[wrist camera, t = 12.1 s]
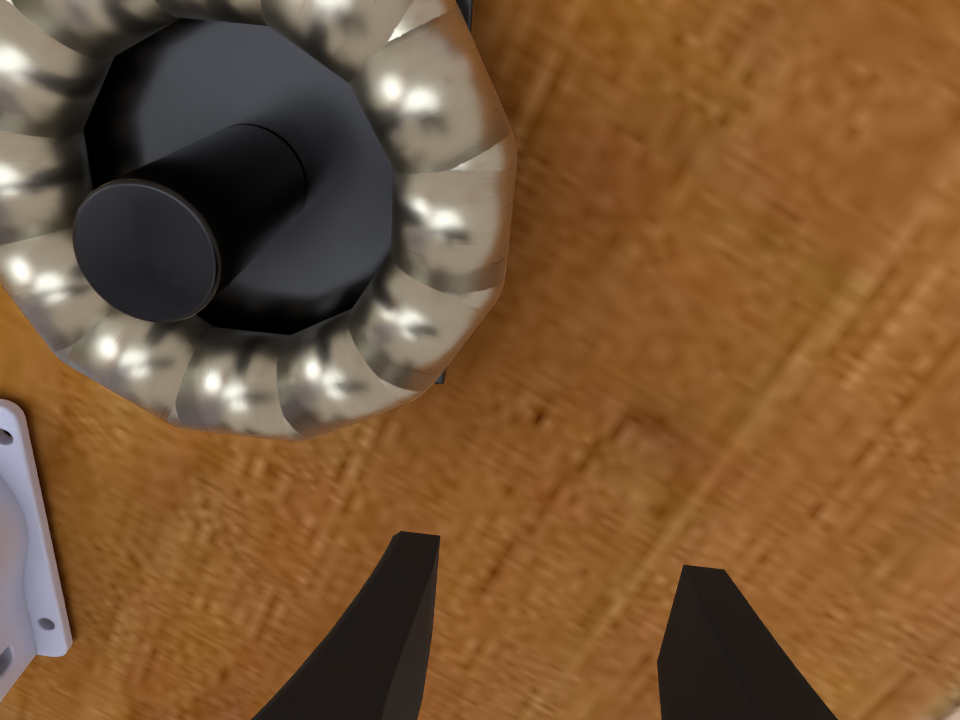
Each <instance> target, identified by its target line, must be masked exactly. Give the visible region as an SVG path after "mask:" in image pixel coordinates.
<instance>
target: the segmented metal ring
mask: <svg viewBox="0 0 960 720" xmlns="http://www.w3.org/2000/svg"><path fill="white" fill-rule="evenodd" d="M180 18H189V19H200V20H210V21H221V22H231V23H241V24H252V25H262V26H269V27H271V28H272V29H274V30H275V31H276V32H278V33H279V34H281V35H282V36H283V37H285V38H286V39H288V40H289V41H290V42H292V43H293V44H295V45H296V46H297V47H299V48H300V49H302V50H303V51H304V52H306V53H307V54H309V55H310V56H311V57H313V58H314V59H316V60H317V61H318V62H320V63H321V64H323V65H324V66H325V67H327V68H328V69H330V70H331V71H332V72H334V73H335V74H337V75H338V76H339V77H341V78H342V79H344V80H345V81H346V82H348V83H349V84H350V86H351V88H352V90H353V91H354V93H355V95H356V97H357V99H358V101H359V103H360V105H361V107H362V109H363V111H364V113H365V115H366V117H367V119H368V121H369V123H370V125H371V127H372V129H373V131H374V133H375V135H376V137H377V139H378V141H379V142H380V144H381V146H382V148H383V150H384V152H385V154H386V156H387V158H388V160H389V162H390V164H391V166H392V168H393V198H392V229H391V252H390V253H389V255H388V256H387V258H386V259H385V261H384V262H383V264H382V265H381V267H380V268H379V270H378V271H377V273H376V274H375V276H374V277H373V279H372V280H371V282H370V283H369V285H368V286H367V288H366V289H365V290H364V292H363V293H362V295H361V296H360V298H359V299H358V301H357V302H356V304H355V305H354V307H353V308H352V309H350V310H348V311H346V312H343V313H341V314H339V315H336V316H334V317H332V318H329V319H327V320H325V321H322V322H320V323H318V324H315V325H313V326H311V327H308V328H306V329H304V330H301V331H299V332H297V333H294V334H292V335H283V334H273V333H264V332H255V331H245V330H236V329H227V328H218V327H215V326H213V325H212V324H210V323H208V322H207V321H205V320H204V319H202V318H200V317H199V316H197V315H193V316H191V317H189V318H187V319H184V320H180V321H176V322H166V323H158V322H149V321H144V320H140V319H137V318H134V317H131V316H129V315H126V314H125V313H123V312H121V311H119V310H117V309H116V308H114V307H113V306H111V305H110V304H108V303H107V302H106V301H105V300H104V299H103V298H101V297H100V296H99V295H98V294H97V293H96V292H95V290H94V289H93V288H92V287H91V285H90V284H89V283H88V281H87V280H86V278H85V277H84V275H83V273H82V271H81V269H80V267H79V265H78V262H77V260H76V257H75V253H74V248H73V240H72V234H73V225H74V220H75V217H76V214H77V211H78V209H79V207H80V206H81V204H82V202H83V201H84V200H85V198H86V197H87V196H88V195H89V194H90V193H91V192H92V191H93V186H92V180H91V173H90V166H89V159H88V152H87V146H86V139H85V132H84V127H85V124H86V122H87V120H88V117H89V115H90V113H91V110H92V108H93V106H94V103H95V101H96V99H97V96H98V94H99V92H100V89H101V87H102V85H103V82H104V80H105V78H106V75H107V73H108V71H109V68H110V66H111V64H112V61H113V59H114V56H116V55H118V54H120V53H121V52H123V51H125V50H127V49H128V48H130V47H132V46H133V45H135V44H137V43H139V42H140V41H142V40H144V39H146V38H147V37H149V36H151V35H153V34H154V33H156V32H158V31H159V30H161V29H163V28H165V27H166V26H168V25H170V24H172V23H173V22H175V21H177V20H179V19H180ZM517 159H518V150H517V144H516V140H515V136H514V133H513V131H512V127H511V125H510V123H509V121H508V118H507V116H506V114H505V111H504V109H503V107H502V104H501V102H500V100H499V98H498V95H497V93H496V91H495V88H494V86H493V84H492V82H491V79H490V77H489V75H488V72H487V70H486V68H485V66H484V63H483V61H482V59H481V56H480V54H479V52H478V50H477V47H476V45H475V43H474V40H473V38H472V36H471V33H470V31H469V29H468V27H467V24H466V22H465V20H464V17H463V15H462V13H461V11H460V8H459V7H458V5H457V3H456V1H455V0H0V284H1V285H2V287H3V288H4V289H5V290H6V292H7V293H8V294H9V296H10V297H11V298H12V300H13V301H14V302H15V304H16V305H17V306H18V307H19V309H20V310H21V311H22V313H23V314H24V315H25V317H26V318H27V319H28V320H29V322H30V323H31V324H32V326H33V327H34V328H35V330H36V331H37V332H38V333H39V335H40V336H41V337H42V339H43V340H44V341H45V343H46V344H47V345H48V346H49V348H50V349H51V350H52V352H53V353H54V354H55V355H56V356H57V357H58V358H59V359H60V360H61V361H62V362H64V363H65V364H67V365H68V366H70V367H71V368H73V369H75V370H76V371H78V372H80V373H82V374H83V375H85V376H87V377H89V378H90V379H92V380H94V381H96V382H97V383H99V384H101V385H102V386H104V387H106V388H108V389H109V390H111V391H113V392H115V393H116V394H118V395H120V396H122V397H123V398H125V399H127V400H128V401H130V402H132V403H134V404H135V405H137V406H139V407H141V408H142V409H144V410H146V411H147V412H149V413H151V414H153V415H154V416H156V417H158V418H160V419H161V420H163V421H165V422H166V423H169V424H171V425H173V426H175V427H178V428H182V429H187V430H194V431H203V432H212V433H221V434H230V435H239V436H248V437H257V438H266V439H275V440H284V441H292V442H303V441H308V440H313V439H316V438H319V437H322V436H325V435H327V434H330V433H332V432H335V431H338V430H340V429H343V428H345V427H348V426H351V425H353V424H356V423H359V422H361V421H364V420H366V419H369V418H372V417H374V416H377V415H379V414H382V413H385V412H387V411H390V410H392V409H395V408H398V407H400V406H403V405H405V404H408V403H410V402H412V401H415V400H416V399H418V398H419V397H421V396H422V395H423V394H425V393H426V392H427V391H428V390H429V389H430V388H431V387H432V385H433V384H434V383H435V381H436V380H437V379H438V378H439V376H440V375H441V374H442V372H443V371H444V370H445V368H446V367H447V366H448V365H449V363H450V362H451V361H452V359H453V358H454V357H455V356H456V354H457V353H458V352H459V350H460V349H461V348H462V347H463V345H464V344H465V343H466V341H467V340H468V339H469V337H470V336H471V335H472V334H473V332H474V331H475V330H476V328H477V327H478V326H479V325H480V323H481V322H482V321H483V319H484V318H485V317H486V315H487V314H488V313H489V312H490V310H491V309H492V308H493V307H494V305H495V303H496V302H497V301H498V299H499V297H500V294H501V292H502V289H503V286H504V283H505V277H506V268H507V258H508V248H509V239H510V229H511V220H512V210H513V201H514V191H515V182H516V172H517Z"/></svg>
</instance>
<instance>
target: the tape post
mask: <svg viewBox="0 0 960 720" xmlns="http://www.w3.org/2000/svg"><path fill="white" fill-rule="evenodd" d="M455 1H456V3H457V5H458V7H459V8H460V11H461V13H462V15H463V17H464V20H465V22H466V24H467V27H468V29H469V31H470V33H471V36H472V38H473V40H474V41H475V28H476V16H477V3H478V0H455ZM84 132H85V139H86V146H87V152H88V159H89V166H90V173H91V180H92V186H93V191H92V192H91V193H90V194H89V195H88V196H87V197H86V198H85V200H84V201H83V202H82V204H81V206H80V207H79V209H78V211H77V214H76V217H75V220H74V225H73V234H72V240H73V248H74V253H75V257H76V260H77V262H78V265H79V267H80V269H81V271H82V273H83V275H84V277H85V278H86V280H87V281H88V283H89V284H90V285H91V287H92V288H93V289H94V290H95V292H96V293H97V294H98V295H99V296H100V297H101V298H103V299H104V300H105V301H106V302H107V303H108V304H110V305H111V306H113V307H114V308H116V309H117V310H119V311H121V312H123V313H125V314H126V315H129V316H131V317H134V318H137V319H140V320H144V321H149V322H158V323H166V322H176V321H180V320H184V319H187V318H189V317H191V316H193V315H197V316H199V317H200V318H202V319H204V320H205V321H207V322H208V323H210V324H212V325H213V326H215V327H218V328H227V329H236V330H245V331H255V332H264V333H273V334H283V335H292V334H294V333H297V332H299V331H301V330H304V329H306V328H308V327H311V326H313V325H315V324H318V323H320V322H322V321H325V320H327V319H329V318H332V317H334V316H336V315H339V314H341V313H343V312H346V311H348V310H350V309H352V308H353V307H354V305H355V304H356V302H357V301H358V299H359V298H360V296H361V295H362V293H363V292H364V290H365V289H366V288H367V286H368V285H369V283H370V282H371V280H372V279H373V277H374V276H375V274H376V273H377V271H378V270H379V268H380V267H381V265H382V264H383V262H384V261H385V259H386V258H387V256H388V255H389V253H390V252H391V229H392V198H393V168H392V166H391V164H390V162H389V160H388V158H387V156H386V154H385V152H384V150H383V148H382V146H381V144H380V142H379V141H378V139H377V137H376V135H375V133H374V131H373V129H372V127H371V125H370V123H369V121H368V119H367V117H366V115H365V113H364V111H363V109H362V107H361V105H360V103H359V101H358V99H357V97H356V95H355V93H354V91H353V90H352V88H351V86H350V84H349V83H348V82H346V81H345V80H344V79H342V78H341V77H339V76H338V75H337V74H335V73H334V72H332V71H331V70H330V69H328V68H327V67H325V66H324V65H323V64H321V63H320V62H318V61H317V60H316V59H314V58H313V57H311V56H310V55H309V54H307V53H306V52H304V51H303V50H302V49H300V48H299V47H297V46H296V45H295V44H293V43H292V42H290V41H289V40H288V39H286V38H285V37H283V36H282V35H281V34H279V33H278V32H276V31H275V30H274V29H272V28H271V27H269V26H262V25H252V24H241V23H231V22H221V21H210V20H200V19H189V18H180V19H179V20H177V21H175V22H173V23H172V24H170V25H168V26H166V27H165V28H163V29H161V30H159V31H158V32H156V33H154V34H153V35H151V36H149V37H147V38H146V39H144V40H142V41H140V42H139V43H137V44H135V45H133V46H132V47H130V48H128V49H127V50H125V51H123V52H121V53H120V54H118V55H116V56H114V59H113V61H112V64H111V66H110V68H109V71H108V73H107V75H106V78H105V80H104V82H103V85H102V87H101V89H100V92H99V94H98V96H97V99H96V101H95V103H94V106H93V108H92V110H91V113H90V115H89V117H88V120H87V122H86V124H85V127H84ZM447 368H448V366H447V367H446V368H445V370H444V371H443V372H442V374H441V375H440V376H439V378H438V379H437V380H436V381H435V383H434V384H443V383H444V381H445V376H446V372H447Z"/></svg>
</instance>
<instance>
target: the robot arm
mask: <svg viewBox="0 0 960 720" xmlns="http://www.w3.org/2000/svg"><path fill="white" fill-rule="evenodd" d="M4 430H6V431H8V432H9V433H10V434H11V436H12V437H11V436H9V435H7V434H6V433H5V431H4ZM439 546H440V536H438V535H429V534H421V533H413V532H404V531H400V532H399V533H397V534H396V535H394V536H393V538H392V540H391V542H390V544H389V546H388V547H387V549H386V551H385V553H384V554H383V556H382V558H381V560H380V561H379V563H378V565H377V566H376V568H375V569H374V571H373V572H372V574H371V576H370V577H369V578H368V580H367V581H366V583H365V584H364V586H363V587H362V589H361V590H360V592H359V593H358V595H357V596H356V597H355V599H354V600H353V601H352V603H351V604H350V605H349V607H348V608H347V609H346V611H345V612H344V613H343V615H342V616H341V618H340V619H339V620H338V622H337V623H336V624H335V626H334V627H333V628H332V629H331V631H330V632H329V633H328V635H327V636H326V637H325V638H324V639H323V641H322V642H321V643H320V644H319V645H318V647H317V648H316V649H315V650H314V651H313V652H312V654H311V655H310V656H309V657H308V658H307V660H306V661H305V662H304V663H303V664H302V665H301V667H300V668H299V669H298V670H297V671H296V673H295V674H294V675H293V676H292V677H291V678H290V679H289V680H288V681H287V683H286V684H285V685H284V686H283V687H282V688H281V689H280V690H279V691H278V692H277V693H276V694H275V696H274V697H273V698H272V699H271V700H270V701H269V702H268V703H267V704H266V705H265V706H264V707H263V708H262V709H261V710H260V711H259V712H258V713H257V714H256V715H255V716H254V717H253V718H252V719H251V720H417V718H418V714H419V710H420V706H421V702H422V698H423V691H424V685H425V678H426V672H427V665H428V658H429V652H430V645H431V638H432V630H433V618H434V606H435V594H436V582H437V570H438V558H439ZM72 642H73V640H72V635H71V631H70V626H69V621H68V616H67V612H66V607H65V602H64V597H63V593H62V588H61V583H60V578H59V574H58V569H57V564H56V559H55V555H54V550H53V545H52V540H51V536H50V531H49V526H48V521H47V517H46V512H45V507H44V502H43V498H42V493H41V488H40V483H39V479H38V474H37V469H36V464H35V460H34V455H33V450H32V445H31V441H30V436H29V431H28V426H27V421H26V417H25V415H24V412H23V410H22V409H21V408H20V407H19V406H18V405H17V404H15V403H13V402H12V401H8V400H5V399H0V702H1V701H2V699H3V698H4V697H5V695H6V694H7V693H8V692H9V690H10V689H11V688H12V686H13V685H14V684H15V682H16V681H17V680H18V678H19V677H20V676H21V674H22V673H23V672H24V670H25V669H26V668H27V666H28V665H29V664H30V662H31V661H32V660H33V658H34V657H35V656H36V655H42V656H50V657H61V656H63V655H65V654H66V653H67V651H68V650H69V648H70V647H71V646H72ZM657 666H658V679H659V693H660V705H661V716H662V720H838V719H837V718H836V717H835V716H834V714H833V713H832V712H831V711H830V709H829V708H828V707H827V706H826V705H825V703H824V702H823V701H822V700H821V698H820V697H819V696H818V695H817V693H816V692H815V691H814V690H813V688H812V687H811V686H810V684H809V683H808V682H807V681H806V679H805V678H804V677H803V675H802V674H801V673H800V672H799V670H798V669H797V668H796V667H795V665H794V664H793V663H792V661H791V660H790V659H789V657H788V656H787V655H786V654H785V652H784V651H783V650H782V648H781V647H780V646H779V644H778V643H777V641H776V640H775V639H774V637H773V636H772V635H771V633H770V632H769V631H768V629H767V628H766V627H765V625H764V624H763V622H762V621H761V620H760V618H759V617H758V615H757V614H756V613H755V611H754V610H753V609H752V607H751V606H750V604H749V603H748V602H747V600H746V599H745V597H744V596H743V595H742V593H741V592H740V590H739V589H738V588H737V586H736V585H735V584H734V582H733V581H732V579H731V578H730V577H729V575H728V574H727V573H726V571H725V570H723V569H715V568H706V567H698V566H690V565H683V569H682V572H681V576H680V580H679V583H678V587H677V591H676V594H675V598H674V602H673V605H672V609H671V613H670V616H669V620H668V624H667V627H666V631H665V635H664V638H663V642H662V646H661V649H660V653H659V657H658V660H657Z"/></svg>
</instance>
